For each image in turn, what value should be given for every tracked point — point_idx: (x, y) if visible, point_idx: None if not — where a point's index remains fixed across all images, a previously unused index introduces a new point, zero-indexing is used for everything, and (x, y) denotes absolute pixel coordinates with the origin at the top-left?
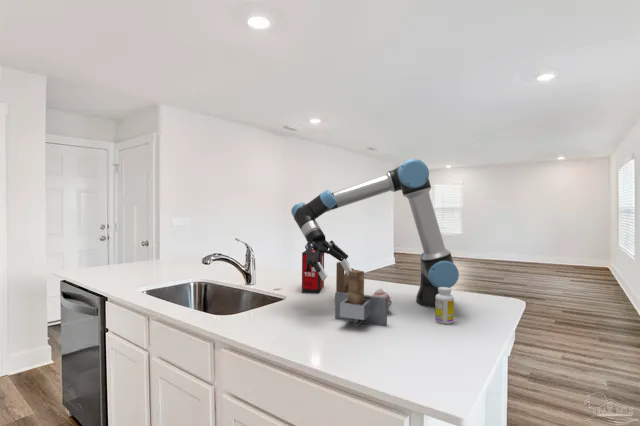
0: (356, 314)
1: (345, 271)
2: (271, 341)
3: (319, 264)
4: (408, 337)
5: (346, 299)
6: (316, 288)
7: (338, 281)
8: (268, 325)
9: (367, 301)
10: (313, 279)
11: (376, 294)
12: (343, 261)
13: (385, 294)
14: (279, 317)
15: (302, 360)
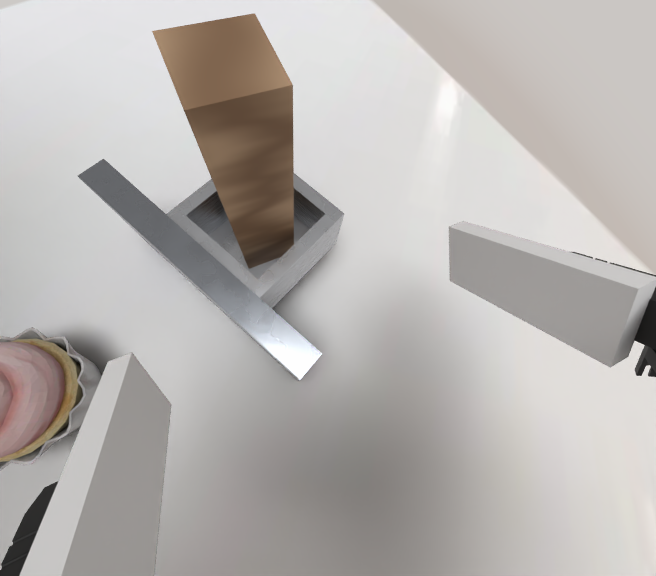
0: None
1: (165, 453)
2: (544, 218)
3: (606, 265)
4: (161, 131)
5: (290, 257)
6: None
7: None
8: (566, 351)
9: (203, 194)
10: None
11: (11, 387)
12: (96, 567)
13: None
14: (533, 441)
15: (473, 107)
